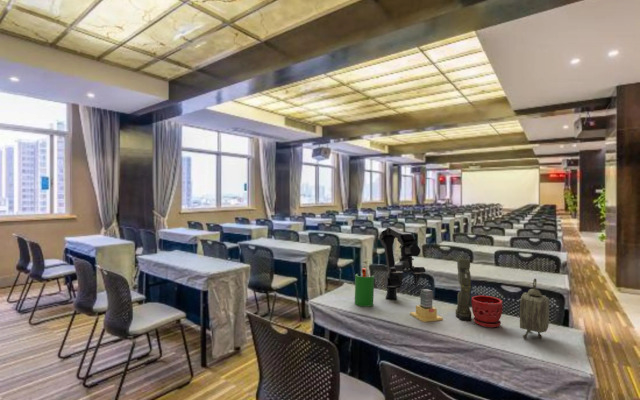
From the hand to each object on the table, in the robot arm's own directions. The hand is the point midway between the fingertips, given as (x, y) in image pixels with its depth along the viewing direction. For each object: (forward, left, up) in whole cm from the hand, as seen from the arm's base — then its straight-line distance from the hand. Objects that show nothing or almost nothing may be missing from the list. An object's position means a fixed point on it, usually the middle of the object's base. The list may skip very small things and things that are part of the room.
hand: (408, 286), depth 180 cm
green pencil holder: (-1, -23, -12) cm, 26 cm away
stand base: (+10, +9, -12) cm, 18 cm away
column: (+10, +9, -11) cm, 17 cm away
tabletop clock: (+21, +53, -12) cm, 58 cm away
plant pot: (+11, +36, -12) cm, 39 cm away
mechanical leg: (+3, +27, -12) cm, 30 cm away
